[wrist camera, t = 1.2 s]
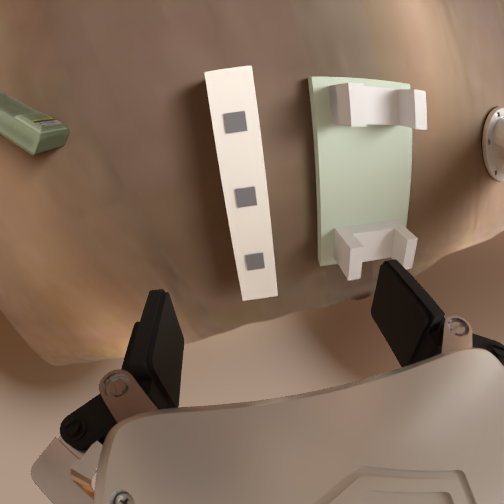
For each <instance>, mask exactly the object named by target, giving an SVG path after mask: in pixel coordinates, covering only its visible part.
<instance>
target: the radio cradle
mask: <svg viewBox="0 0 504 504" xmlns="http://www.w3.org/2000/svg"><path fill="white" fill-rule="evenodd" d="M308 84H309V94H310V103H311V114H312V125H313V138H314V153H315V170H316V192H317V233H318V262H319V264H320V266H326V265H332V264H338V265H339V266H340V268H341V270H342V271H343V273H344V275H345V276H346V278H347V280H348V281H350V280H355V279H360V278H361V270H362V262H367V261H373V260H379V259H384V258H390V257H391V258H392V259H393V260H394V259H396V260H397V261H398V262H399V263H400V264H401V265H402V266H403V267H404V268H405V269H411V268H412V266H413V261H414V256H415V251H416V246H417V240H418V238H417V237H416V236H415V235H414V234H412V233H411V232H410V231H409V230H408V229H407V228H406V224H407V216H408V207H409V197H410V184H411V166H412V128H414V129H422V130H427V111H426V92H425V91H421V90H415V89H410V84H405V83H399V82H391V81H383V80H373V79H362V78H346V77H310V78H308Z"/></svg>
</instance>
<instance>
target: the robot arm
mask: <svg viewBox="0 0 504 504" xmlns="http://www.w3.org/2000/svg"><path fill="white" fill-rule="evenodd" d="M482 148H483V157H484V161H485V165H486V168H487V170H488V172H489V174H490V175H491V176H492V177H493V178H494V179H496V180H498V181H500V182H504V108H503V107H496V108H494V109H493V110H492V111H491V112H490V114H489V115H488V117H487V119H486V122H485V126H484V130H483V139H482ZM371 314H372V317H373V319H374V321H375V322H376V324H377V325H378V327H379V329H380V330H381V332H382V334H383V335H384V337H385V339H386V341H387V342H388V344H389V346H390V347H391V349H392V351H393V353H394V354H395V356H396V358H397V360H398V361H399V363H400V365H401V367H402V368H399V369H396V370H393V371H390V372H387V373H383V374H380V375H377V376H373V377H370V378H366V379H363V380H359V381H355V382H352V383H348V384H344V385H340V386H336V387H331V388H327V389H323V390H318V391H313V392H308V393H303V394H297V395H292V396H286V397H280V398H273V399H266V400H259V401H251V402H243V403H232V404H222V405H210V406H197V407H196V406H195V407H181V408H178V406H179V395H180V382H181V370H182V360H183V350H184V338H183V335H182V332H181V329H180V326H179V323H178V320H177V317H176V314H175V311H174V308H173V304H172V301H171V298H170V295H169V293H168V292H165V291H164V290H163V289H161V290H151V291H150V292H149V295H148V298H147V301H146V304H145V307H144V310H143V314H142V317H141V320H140V322H136V323H135V325H134V327H133V331H132V334H131V337H130V341H129V344H128V347H127V351H126V354H125V358H124V362H123V365H122V369H121V370H119V369H118V370H113V371H111V372H109V373H107V374H106V375H105V376H104V377H103V378H102V379H101V382H100V384H99V391H100V394H99V395H98V396H96V397H94V398H93V399H92V400H90V401H89V402H87V403H86V404H84V405H83V406H81V407H80V408H78V409H77V410H76V411H74V412H73V413H71V414H70V415H68V416H67V417H66V418H65V419H64V420H63V421H62V423H61V427H60V434H61V436H60V437H59V438H58V439H57V438H56V437H55V438H54V439H53V440H52V442H51V443H50V444H49V446H48V447H47V448H46V449H45V450H44V451H43V453H42V454H41V455H40V456H39V458H38V459H37V460H36V461H35V463H34V464H33V466H32V468H31V476H32V479H33V481H34V482H35V484H36V485H37V486H38V487H39V488H40V489H41V491H42V492H43V493H44V494H45V495H46V496H47V497H48V498H49V500H50V501H51V502H52V503H53V504H504V345H502V344H501V343H499V342H497V341H494V340H491V339H488V338H485V337H482V336H479V335H476V334H473V333H472V327H471V325H470V323H469V322H468V321H467V320H466V319H464V318H462V317H460V316H450V317H448V318H447V319H445V318H444V314H445V313H444V312H443V311H442V310H441V309H440V307H439V306H438V305H437V304H436V302H435V301H434V300H433V299H432V298H431V297H430V296H429V294H428V293H427V292H426V291H425V290H424V289H423V288H422V287H421V285H420V284H419V283H418V282H417V281H416V280H415V279H414V278H413V276H412V275H411V274H410V273H409V272H408V271H407V270H406V269H405V268H404V267H403V266H402V265H401V264H400V263H399V262H398V261H397V260H396V259H394V260H388V261H384V263H383V265H381V266H380V270H379V276H378V281H377V286H376V290H375V295H374V300H373V304H372V308H371ZM97 466H98V467H97ZM96 468H97V470H95V469H96ZM96 472H97V475H96V483H95V491H94V490H93V488H92V485H91V480H92V478H93V476H94V474H95V473H96ZM129 493H130V494H129Z"/></svg>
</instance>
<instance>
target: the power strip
mask: <svg viewBox="0 0 504 504" xmlns="http://www.w3.org/2000/svg"><path fill="white" fill-rule="evenodd" d="M205 79H206V86H207V93H208V99H209V106H210V112H211V119H212V125H213V132H214V138H215V144H216V150H217V157H218V163H219V169H220V175H221V181H222V187H223V193H224V199H225V205H226V210H227V216H228V222H229V228H230V233H231V239H232V245H233V250H234V256H235V261H236V267H237V272H238V278H239V283H240V288H241V294H242V299H243V301H246V300H253V299H260V298H267V297H273V296H278V292H277V281H276V271H275V260H274V250H273V240H272V230H271V220H270V211H269V201H268V192H267V183H266V175H265V166H264V157H263V149H262V141H261V133H260V125H259V117H258V109H257V102H256V94H255V87H254V79H253V72H252V66H243V67H235V68H227V69H221V70H214V71H208V72H205Z"/></svg>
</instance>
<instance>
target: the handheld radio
mask: <svg viewBox="0 0 504 504" xmlns="http://www.w3.org/2000/svg"><path fill="white" fill-rule="evenodd" d="M69 132H70V131H69V129H68V128H66V125H64V124H63V123H61V122H60V121H58V120H56V119H54V118H52V117H51V116H49V115H47V114H45V113H44V112H38V111H36V110H34V109H33V108H31V107H29V106H27V105H25V104H24V103H22V102H20V101H18V100H16V99H15V98H13V97H11V96H9V95H7V94H6V93H4V92H2V91H0V134H1V135H2V136H4V137H5V138H7V139H8V140H10V141H11V142H13V143H14V144H16V145H17V146H19V147H20V148H22V149H23V150H25V151H26V152H28V153H30V154H31V155H36V154H39V153H42V152H45V151H49V150H52V149H55V148H59V147H62V146H64V145H65V143H66V141H67V138H68V135H69Z"/></svg>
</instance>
